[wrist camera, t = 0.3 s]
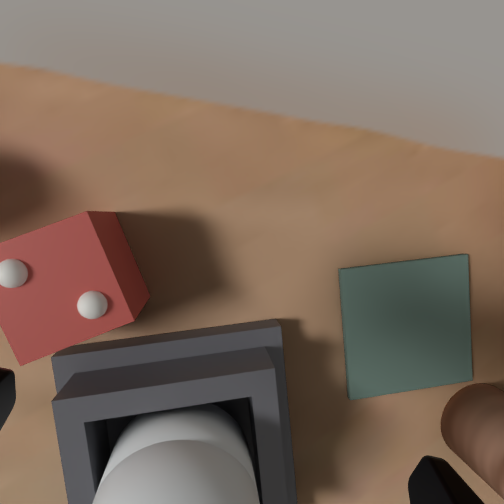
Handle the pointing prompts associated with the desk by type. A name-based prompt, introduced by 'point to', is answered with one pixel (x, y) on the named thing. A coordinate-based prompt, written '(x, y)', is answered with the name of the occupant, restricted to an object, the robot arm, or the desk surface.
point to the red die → (67, 284)
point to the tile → (406, 325)
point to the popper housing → (175, 397)
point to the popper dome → (180, 460)
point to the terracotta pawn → (477, 431)
